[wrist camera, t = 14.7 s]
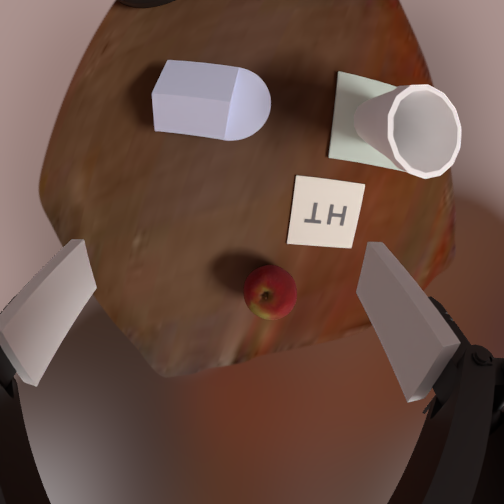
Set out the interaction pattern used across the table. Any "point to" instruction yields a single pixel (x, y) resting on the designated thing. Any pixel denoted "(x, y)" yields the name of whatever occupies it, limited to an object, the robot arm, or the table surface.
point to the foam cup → (412, 129)
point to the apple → (270, 292)
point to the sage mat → (343, 131)
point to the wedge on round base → (209, 100)
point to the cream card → (324, 212)
